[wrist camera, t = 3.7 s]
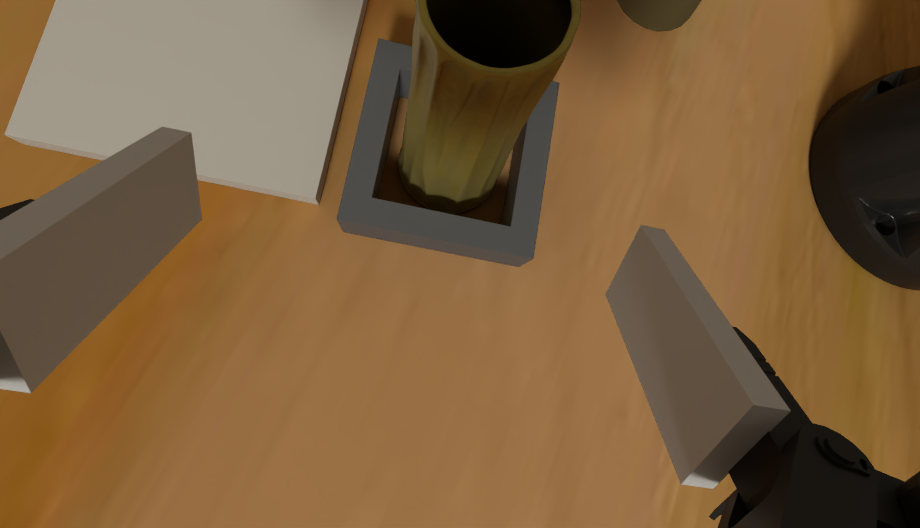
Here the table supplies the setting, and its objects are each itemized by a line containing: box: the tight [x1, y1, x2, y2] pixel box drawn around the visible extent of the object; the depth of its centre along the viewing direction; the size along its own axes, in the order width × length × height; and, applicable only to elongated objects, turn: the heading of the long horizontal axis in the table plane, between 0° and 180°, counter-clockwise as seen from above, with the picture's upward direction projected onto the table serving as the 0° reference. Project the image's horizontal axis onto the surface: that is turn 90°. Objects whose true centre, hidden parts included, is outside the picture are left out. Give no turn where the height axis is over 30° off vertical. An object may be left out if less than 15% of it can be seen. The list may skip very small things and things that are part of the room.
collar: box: [337, 38, 559, 267], centre depth 26 cm, size 11×11×3 cm
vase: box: [398, 0, 581, 214], centre depth 21 cm, size 6×6×14 cm
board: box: [5, 0, 368, 205], centre depth 26 cm, size 16×16×1 cm
